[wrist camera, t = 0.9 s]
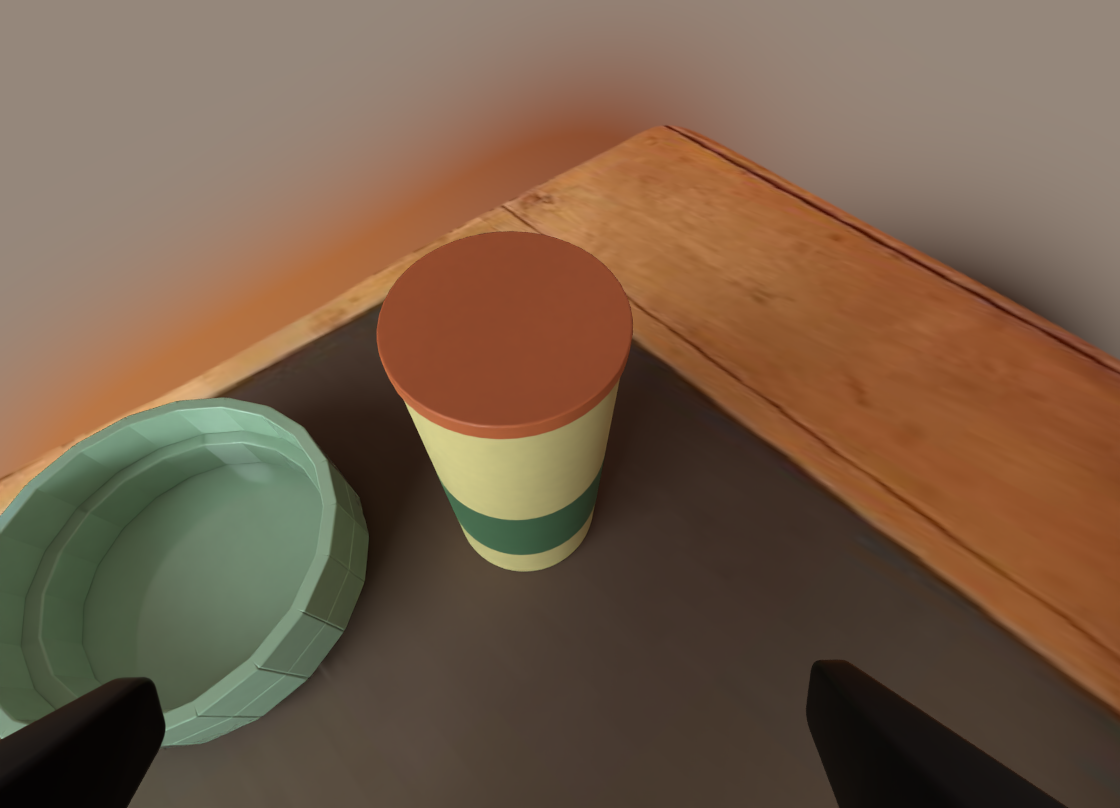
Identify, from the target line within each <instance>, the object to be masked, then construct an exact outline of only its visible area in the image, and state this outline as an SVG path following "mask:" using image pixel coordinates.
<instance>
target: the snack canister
mask: <svg viewBox="0 0 1120 808" xmlns="http://www.w3.org/2000/svg"><path fill="white" fill-rule="evenodd" d="M632 335H633V318H632V312H631V307H630V304H629V301H628V298H627V296H626V293H625V292H624V290H623V288H622V286H621V284H620V283H619V281H618V280H617V279H616V277H615V276H614V275H613V273H612V272H611V271H610V270H609V269H608V268H607V267H606V266H605V265H604V264H603V263H602V262H600V261H599V260H598V259H597V258H595V257H594V256H593V255H591V254H590V253H588V252H586V251H585V250H583V249H581V248H579V247H577V246H575V245H573V244H571V243H569V242H566V241H563V240H560V239H557V238H554V237H550V236H546V235H542V234H535V233H529V232H514V231H509V232H492V233H484V234H479V235H474V236H469V237H466V238H463V239H459V240H456V241H453V242H451V243H448V244H446V245H444V246H441V247H439V248H437V249H436V250H434V251H432V252H430V253H428V254H427V255H425V256H424V257H422V258H421V259H419V260H418V261H416V262H415V263H414V264H413V265H412V266H411V267H409V268H408V269H407V270H406V271H405V272H404V273H403V274H402V275H401V276H400V277H399V279H398V280H397V281H396V282H395V284H394V285H393V287H392V288H391V289H390V291H389V293H388V295H387V297H386V298H385V300H384V302H383V305H382V308H381V311H380V314H379V319H378V325H377V345H378V350H379V355H380V358H381V361H382V363H383V366H384V369H385V371H386V373H387V375H388V377H389V379H390V381H391V383H392V384H393V386H394V388H395V389H396V391H397V393H398V394H399V395H400V396H401V397H402V399H403V400H404V402H405V404H406V406H407V408H408V410H409V413H410V415H411V417H412V419H413V421H414V424H415V426H416V428H417V430H418V432H419V435H420V437H421V439H422V441H423V443H424V446H425V448H426V450H427V452H428V454H429V457H430V459H431V461H432V463H433V466H434V468H435V470H436V472H437V475H438V477H439V479H440V482H441V484H442V486H443V488H444V490H445V493H446V495H447V497H448V499H449V501H450V504H451V506H452V508H453V510H454V512H455V515H456V517H457V518H458V521H459V523H460V525H461V527H462V529H463V532H464V534H465V536H466V538H467V539H468V541H469V543H470V544H471V545H472V547H473V548H474V549H475V550H476V551H477V552H478V553H479V554H480V555H481V556H482V557H483V558H485V559H486V560H487V561H489V562H491V563H493V564H495V565H496V566H499V567H502V568H505V569H509V570H513V571H535V570H541V569H544V568H547V567H550V566H553V565H555V564H557V563H559V562H561V561H562V560H564V559H565V558H567V557H568V556H569V555H570V554H571V553H573V552H574V551H575V550H576V548H577V547H578V546H579V545H580V544H581V542H582V541H583V539H584V538H585V536H586V534H587V532H588V530H589V527H590V524H591V521H592V516H593V511H594V506H595V502H596V497H597V492H598V487H599V482H600V477H601V472H602V467H603V462H604V457H605V452H606V446H607V441H608V436H609V431H610V426H611V420H612V415H613V410H614V405H615V400H616V395H617V390H618V385H619V380H620V376H621V374H622V373H623V371H624V368H625V365H626V362H627V359H628V356H629V351H630V346H631V341H632Z"/></svg>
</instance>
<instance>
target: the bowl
mask: <svg viewBox="0 0 1120 808" xmlns="http://www.w3.org/2000/svg"><path fill="white" fill-rule="evenodd" d="M368 543H369V533H368V529H367V525H366V521H365V517H364V513H363V509H362V505H361V501H360V498H359V496H358V495H357V493H356V492H355V491H354V489H353V488H352V486H351V485H350V484H349V482H348V481H347V480H346V478H345V477H344V475H343V474H342V473H341V471H340V470H339V469H338V467H337V466H336V465H335V464H334V463H333V461H332V460H331V459H330V458H329V457H328V455H327V454H326V453H325V452H324V451H323V449H322V448H321V447H320V446H319V445H318V443H317V442H316V441H315V440H314V439H313V437H312V436H311V435H310V434H309V433H308V431H307V430H306V429H305V428H304V427H303V426H301V425H300V424H298V423H296V422H295V421H293V420H292V419H290V418H288V417H287V416H285V415H283V414H282V413H280V412H278V411H277V410H275V409H273V408H272V407H269V406H266V405H261V404H256V403H251V402H246V401H242V400H237V399H232V398H225V397H224V398H210V399H196V400H183V401H175V402H172V403H169V404H166V405H162V406H159V407H156V408H153V409H149V410H146V411H143V412H140V413H136V414H133V415H130V416H127V417H125V418H123V419H121V420H119V421H118V422H116V423H114V424H112V425H110V426H108V427H106V428H105V429H103V430H101V431H99V432H97V433H95V434H94V435H92V436H90V437H88V438H86V439H84V440H82V441H81V442H79V443H77V444H76V446H75V445H74V446H73V447H71V448H70V449H69V450H68V451H66V452H65V453H64V454H63V455H62V456H60V457H59V458H58V459H57V460H55V461H54V462H53V463H52V464H51V465H49V466H48V467H47V468H46V469H44V470H43V471H42V472H41V473H40V474H38V475H37V476H36V477H35V478H33V479H32V480H31V481H30V482H28V485H26V486H25V487H24V488H23V489H22V490H21V491H20V493H19V494H18V495H17V496H16V498H15V499H14V500H13V501H12V502H11V504H10V505H9V506H8V507H7V508H6V510H5V511H4V512H3V513H2V515H1V516H0V738H1V739H3V738H4V737H6V736H8V735H10V734H12V733H14V732H16V731H18V730H19V729H21V728H23V727H25V726H27V725H29V724H31V723H32V722H34V721H36V720H38V719H40V718H42V717H44V716H45V715H47V714H49V713H51V712H53V711H55V710H57V709H59V708H60V707H62V706H64V705H66V704H68V703H70V702H72V701H73V700H75V699H77V698H79V697H81V696H83V695H85V694H86V693H88V692H90V691H92V690H94V689H96V688H98V687H99V686H101V685H103V684H105V683H107V682H109V681H111V680H113V679H116V678H121V677H147V678H150V679H151V680H152V681H153V682H154V683H155V686H156V689H157V693H158V697H159V700H160V704H161V708H162V712H163V715H164V719H165V724H166V731H165V736H164V739H163V742H162V744H161V747H160V749H161V748H169V747H178V746H187V745H196V744H202V743H205V742H208V741H211V740H213V739H215V738H217V737H219V736H222V735H224V734H226V733H228V732H231V731H233V730H235V729H237V728H239V727H242V726H244V725H246V724H248V723H251V722H253V721H255V720H257V719H259V718H260V717H261V716H263V715H265V714H266V713H267V712H268V711H269V710H271V709H272V708H273V707H274V706H276V705H277V704H278V703H279V702H281V701H282V700H283V699H284V698H285V697H287V696H288V695H289V694H290V693H292V692H293V691H294V690H295V689H296V688H298V687H299V686H300V685H301V684H303V683H304V682H305V681H306V680H307V679H308V677H310V676H311V675H312V674H313V672H314V671H315V670H316V668H317V667H318V666H319V664H320V663H321V662H322V660H323V659H324V658H325V656H326V655H327V654H328V652H329V651H330V650H331V648H332V647H333V646H334V644H335V643H336V642H337V640H338V639H339V638H340V636H341V635H342V634H343V632H344V631H343V630H345V629H346V627H347V624H348V622H349V619H350V617H351V614H352V612H353V610H354V607H355V605H356V602H357V600H358V597H359V595H360V592H361V590H362V587H363V585H364V581H365V575H366V564H367V554H368Z"/></svg>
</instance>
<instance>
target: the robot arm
mask: <svg viewBox="0 0 1120 808" xmlns="http://www.w3.org/2000/svg"><path fill="white" fill-rule="evenodd" d="M806 716H807V722H808V726H809V729H810V732H811V734H812V737H813V740H814V742H815V745H816V748H817V750H818V753H819V755H820V758H821V761H822V763H823V766H824V769H825V771H826V774H827V777H828V779H829V782H830V784H831V787H832V790H833V792H834V795H835V798H836V800H837V803H838V805H839V808H1068V807H1066V806H1065V805H1063V804H1062V803H1060V802H1059V801H1057V800H1056V799H1054V798H1053V797H1051V796H1050V795H1048V794H1047V793H1045V792H1044V791H1042V790H1041V789H1039V788H1038V787H1036V786H1035V785H1033V784H1032V783H1030V782H1029V781H1027V780H1026V779H1024V778H1023V777H1021V776H1020V775H1018V774H1017V773H1015V772H1014V771H1012V770H1011V769H1009V768H1008V767H1006V766H1005V765H1003V764H1002V763H1000V762H999V761H997V760H996V759H994V758H993V757H991V756H990V755H988V754H987V753H985V752H984V751H982V750H981V749H979V748H978V747H976V746H975V745H973V744H972V743H970V742H969V741H967V740H966V739H964V738H963V737H961V736H960V735H958V734H957V733H955V732H954V731H952V730H951V729H949V728H948V727H946V726H944V725H943V724H941V723H940V722H938V721H937V720H935V719H934V718H932V717H931V716H929V715H928V714H926V713H925V712H923V711H922V710H920V709H919V708H917V707H916V706H914V705H913V704H911V703H910V702H908V701H907V700H905V699H904V698H902V697H901V696H899V695H898V694H896V693H895V692H893V691H892V690H890V689H889V688H887V687H886V686H884V685H883V684H881V683H880V682H878V681H877V680H875V679H874V678H872V677H871V676H869V675H868V674H866V673H865V672H863V671H862V670H860V669H859V668H857V667H856V666H854V665H853V664H851V663H849V662H847V661H845V660H818V661H816V662H814V664H813V665H812V668H811V673H810V681H809V689H808V697H807V705H806ZM165 731H166V724H165V719H164V715H163V712H162V708H161V704H160V700H159V697H158V693H157V689H156V686H155V683H154V682H153V681H152V680H151V679H150V678H147V677H121V678H116V679H113V680H111V681H109V682H107V683H105V684H103V685H101V686H99V687H98V688H96V689H94V690H92V691H90V692H88V693H86V694H85V695H83V696H81V697H79V698H77V699H75V700H73V701H72V702H70V703H68V704H66V705H64V706H62V707H60V708H59V709H57V710H55V711H53V712H51V713H49V714H47V715H45V716H44V717H42V718H40V719H38V720H36V721H34V722H32V723H31V724H29V725H27V726H25V727H23V728H21V729H19V730H18V731H16V732H14V733H12V734H10V735H8V736H6V737H4V738H3V739H1V740H0V808H127V807H128V805H129V803H130V801H131V799H132V798H133V796H134V794H135V792H136V790H137V789H138V787H139V785H140V783H141V781H142V779H143V778H144V776H145V774H146V772H147V770H148V769H149V767H150V765H151V763H152V761H153V760H154V758H155V756H156V754H157V752H158V750H159V749H160V747H161V744H162V742H163V739H164V736H165Z"/></svg>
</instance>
